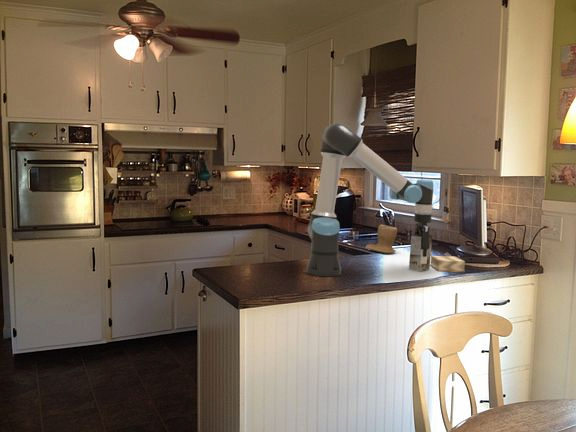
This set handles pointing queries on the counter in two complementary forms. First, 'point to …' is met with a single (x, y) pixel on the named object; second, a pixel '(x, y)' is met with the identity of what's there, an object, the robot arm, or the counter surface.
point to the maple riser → (447, 264)
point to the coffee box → (418, 253)
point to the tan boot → (384, 239)
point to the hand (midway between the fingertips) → (419, 261)
